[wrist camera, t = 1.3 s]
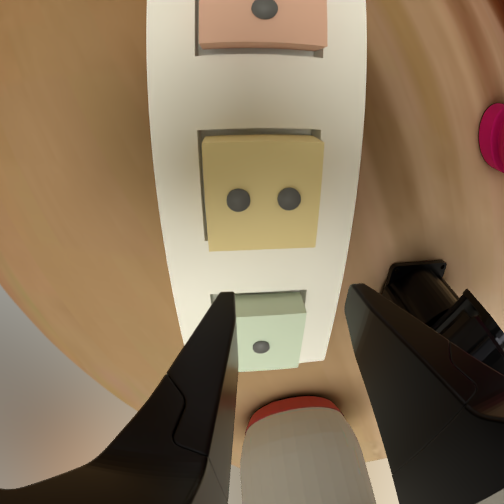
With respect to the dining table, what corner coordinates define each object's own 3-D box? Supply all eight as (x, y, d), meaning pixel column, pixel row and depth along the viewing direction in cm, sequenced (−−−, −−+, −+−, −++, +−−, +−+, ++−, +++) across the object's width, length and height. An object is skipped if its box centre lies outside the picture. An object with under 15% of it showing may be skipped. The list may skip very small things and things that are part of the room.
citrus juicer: (226, 441, 40) (232, 557, 23) (245, 383, 31) (260, 557, 14) (320, 439, 42) (342, 542, 25) (367, 381, 34) (413, 520, 17)
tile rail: (344, -38, 12) (361, -52, 9) (316, 336, 28) (324, 360, 26) (161, -42, 11) (151, -59, 9) (192, 344, 28) (189, 368, 25)
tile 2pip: (312, 135, 16) (325, 143, 14) (306, 229, 19) (316, 249, 17) (205, 136, 16) (201, 144, 14) (210, 232, 19) (208, 253, 17)
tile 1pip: (300, 291, 22) (307, 314, 20) (293, 346, 25) (298, 369, 23) (216, 295, 21) (215, 320, 19) (222, 351, 24) (222, 374, 22)
